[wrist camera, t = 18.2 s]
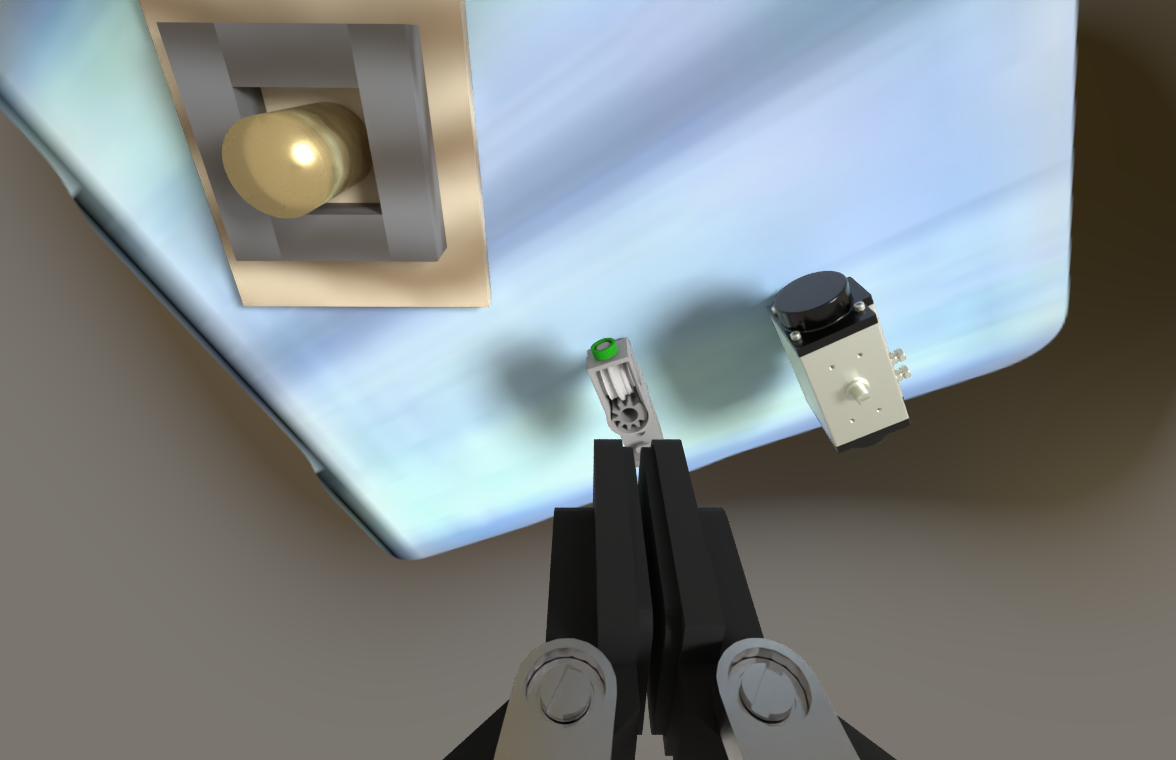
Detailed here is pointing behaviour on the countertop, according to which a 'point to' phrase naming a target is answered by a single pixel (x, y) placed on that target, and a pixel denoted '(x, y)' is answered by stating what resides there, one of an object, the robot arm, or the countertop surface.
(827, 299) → the pneumatic valve
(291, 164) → the tan cylinder
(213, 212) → the jig plate
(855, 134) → the countertop surface
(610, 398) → the mechanical component
